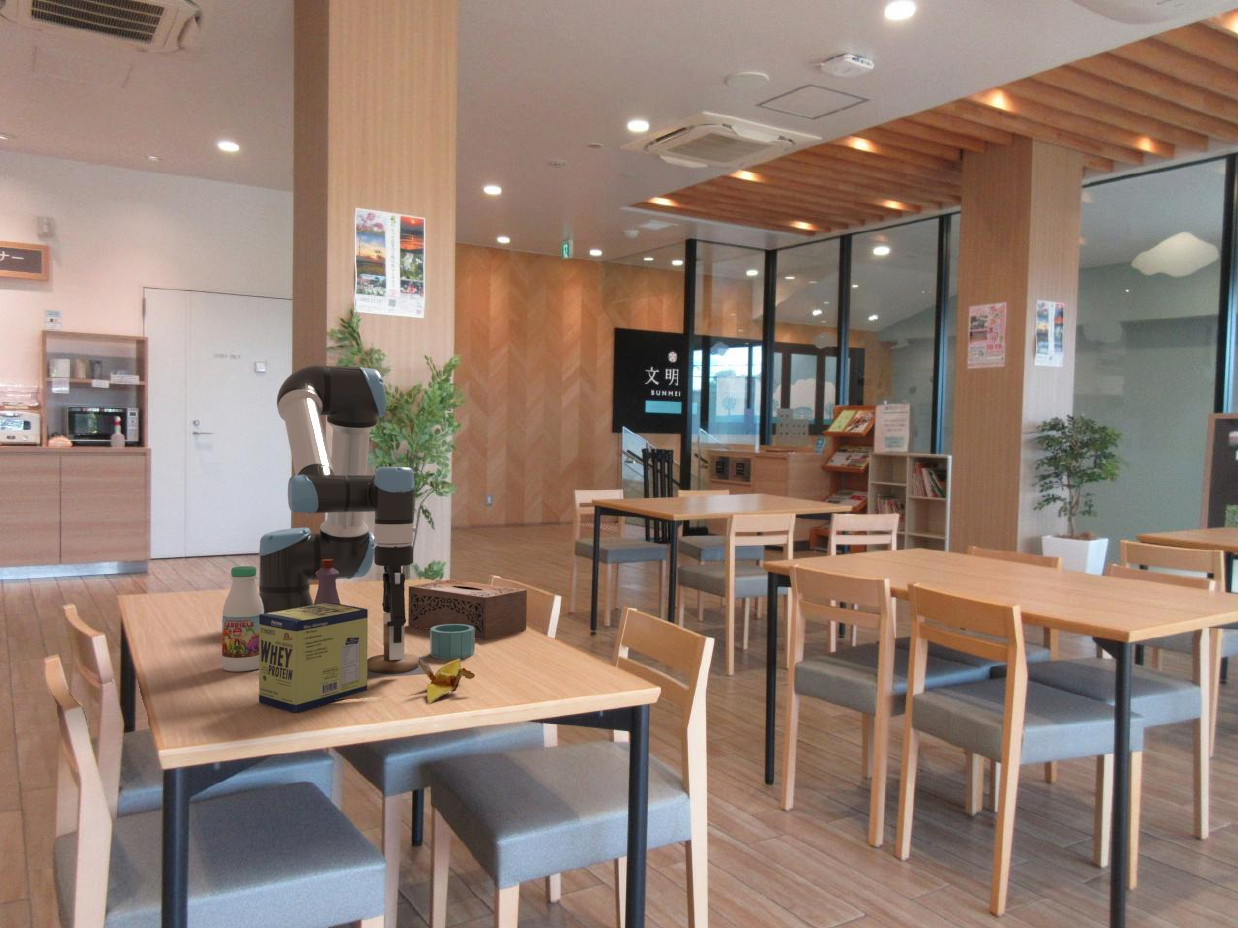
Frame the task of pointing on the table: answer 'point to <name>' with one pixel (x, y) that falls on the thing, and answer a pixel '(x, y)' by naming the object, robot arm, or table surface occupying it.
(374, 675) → the mat
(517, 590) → the tissue box cover
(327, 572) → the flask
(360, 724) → the table surface
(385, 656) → the lid
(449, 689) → the origami crane
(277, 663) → the protein box
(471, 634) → the teal short cylinder
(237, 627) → the milk bottle
